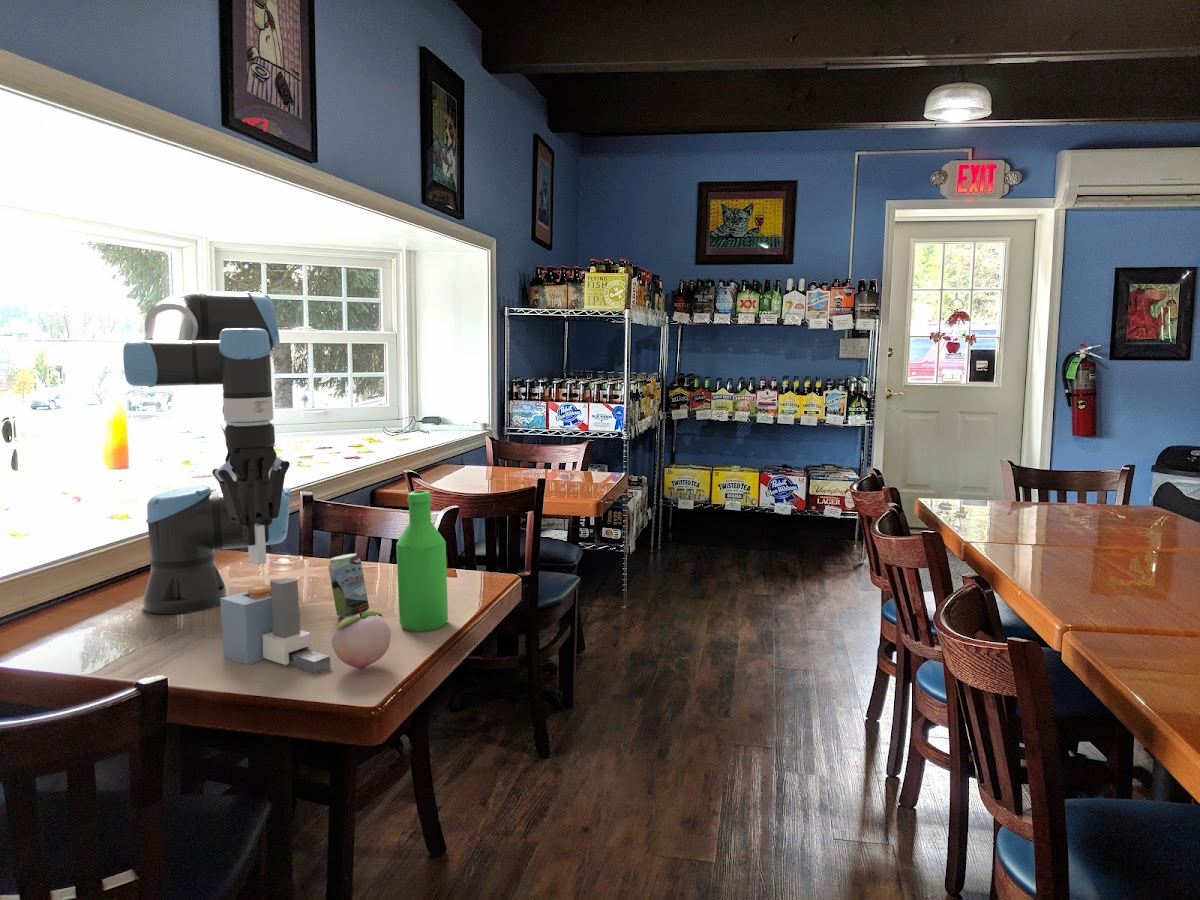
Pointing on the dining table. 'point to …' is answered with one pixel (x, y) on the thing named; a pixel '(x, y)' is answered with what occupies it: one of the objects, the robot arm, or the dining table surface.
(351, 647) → the decorative fruit
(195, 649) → the dining table surface
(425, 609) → the bottle
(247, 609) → the housing
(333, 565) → the beverage can
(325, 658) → the rail
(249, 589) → the plunger
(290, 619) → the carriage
